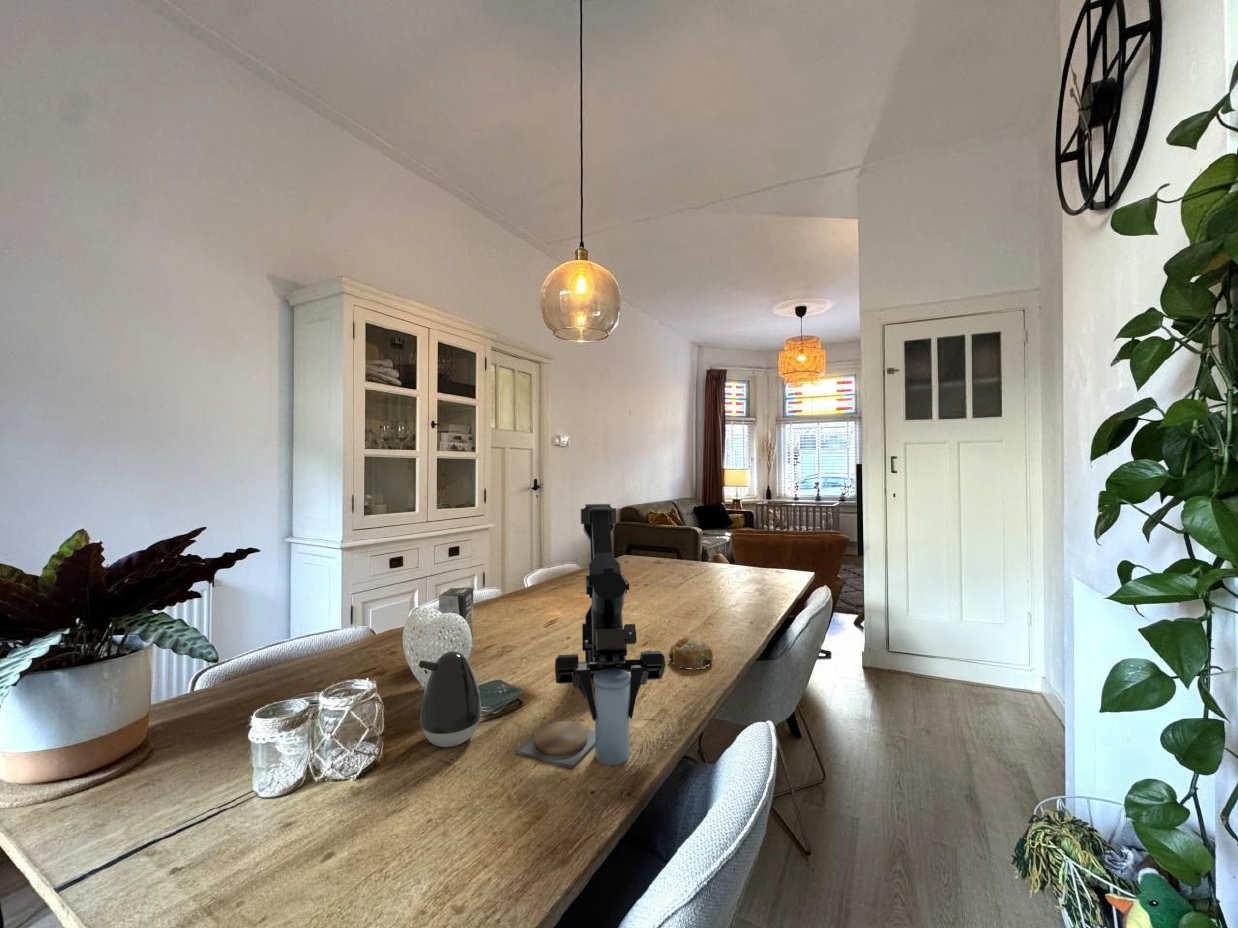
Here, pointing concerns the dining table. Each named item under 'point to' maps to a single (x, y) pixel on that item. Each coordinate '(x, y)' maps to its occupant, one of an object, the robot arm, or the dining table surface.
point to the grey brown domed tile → (559, 743)
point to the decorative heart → (435, 646)
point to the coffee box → (458, 607)
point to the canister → (612, 716)
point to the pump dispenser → (450, 701)
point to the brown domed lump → (690, 653)
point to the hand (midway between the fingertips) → (612, 719)
